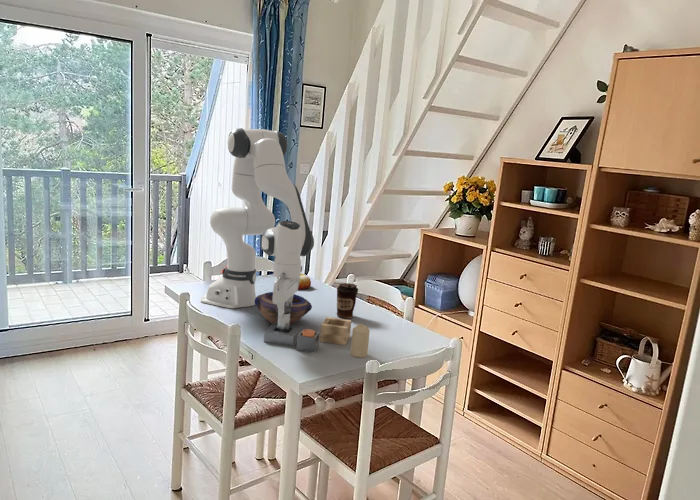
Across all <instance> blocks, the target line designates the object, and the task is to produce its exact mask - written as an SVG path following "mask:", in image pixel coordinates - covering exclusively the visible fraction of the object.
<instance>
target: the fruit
mask: <svg viewBox="0 0 700 500" xmlns="http://www.w3.org/2000/svg"><path fill="white" fill-rule="evenodd" d="M311 286H312V281H311V278H310V277H309V276H308V275H306V274H305V273H300V280H299V287H298V290H300V291H301V290H307V289H309V288H310V287H311Z"/></svg>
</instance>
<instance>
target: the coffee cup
mask: <svg viewBox="0 0 700 500" xmlns="http://www.w3.org/2000/svg"><path fill="white" fill-rule="evenodd" d="M357 286H358V285H357V284H355V283H351V282H350V283H346V282H345V283H339V284H338V286H337V288H336V311H337V312H336V316H337V318H340V319H353V317H354V314H353V313H354V310H355V306H356V302H357V295H358V293H359V288H358V287H357Z"/></svg>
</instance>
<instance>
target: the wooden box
mask: <svg viewBox="0 0 700 500" xmlns="http://www.w3.org/2000/svg"><path fill="white" fill-rule="evenodd" d="M351 327H352V320H351V319H346V318H339V317H337V318H336V317H328V316H326V318H325V319H324V320H323V322H322V323H321V325H320V333H319V343H320V342H321V343H329V344H336V345H341V346H346V345H347V343H348V341H349V339H350V338H351V330H352V328H351Z"/></svg>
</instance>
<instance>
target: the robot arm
mask: <svg viewBox="0 0 700 500" xmlns="http://www.w3.org/2000/svg"><path fill="white" fill-rule="evenodd" d="M227 150H228V151H229V153H230V154H231V156H233V157H234V162H233V169H232V181H231V191H232V193H233V195H234V196H235V197H237V198H238V199H240V200H242V201H244V206H243V207H240V206H239V207H234V206H233V207H232V206H230V207H229V206H227V207H221V208H217V209H216V208H215V210H213V212H212V213H211V216H210V219H209V224H210V226H211V228H212V230H213V232H214V233H215V234H217V235H218V236H219V237H220V238H221V239H222V241H223V242H224V245H225V246H226V254H227V255H226V256H227V258H226V259H227V260H226V261H227V265H226V266H225V267H224V268H223V269H221V272H220V274H222V275H221V276H220V277H218V278H217V279H216V280H214V281H213V282H211V283H210V284H209V286H208V288H207V291H206V293H205V294H203V295H202V296H201V297H200V302H201V303H202V304H208V305H212V306H217V307H223V308H226V309H227V308H228V309H236V308H237V309H238V308H247V307H252V306H256V305H255V299H256V297H257V295H256V294H257V293H256V279H257V269H256V255H257V253H256V249H255V248H254V247H253V246H252V245H250V244H249V243H246V242H244V240H243V236H260V235H261V237H260V238H261V239H260V247H261V251H263V253H264V254H265V255H267V256H272V257H274V261H273V262H274V263H273V276H274V277H276V280H275V281H274V284H273V289H272V292H273V304H277V307H278V315H283V314H284V311H285V309H284V304H285V302H286V307H291V306H292V300H293V294H296V293H297V291H298V290H299V289H298V287H299V280H300V274H302V271H303V266H302V260H301V257H306V256H307V255H309V253H310V252H311V251H312V250H313V248H314V245H315V239H314V235H313V233H312V230H311V229H310V226H309V224H308V223H309V222H308V219H307V217H306V216H307V215H306V213H305V209H304V205H303V201H302V199H301V196H300V192H299V190H298V187H297V186H296V185H295V184H294V183H293V182H292V181H291V179H290V178H289V176H288V173H287V168H286V163H285V156H286V153H287V151H288V140H287V137H286V135H285V134H284V133H283V132H281V131H276V130H270V129H264V128H234V129H232V130H231V131H230V132H229V134H228V138H227ZM262 193H264V194H266V195H267V196H270V197H273V198H275V199H277V200H279V201H281V202H282V203H284V204H285V205H286V206H287V208H288V211H289V215H290V218H291V220H281V221H279V222H278V223H277V224H276V218H275V217H276V216H275V215H274V214H273V212H272V211H271V209H269V208H268V206H266V204H265V202H264V200H263V198H262ZM275 225H276V226H275Z"/></svg>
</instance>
